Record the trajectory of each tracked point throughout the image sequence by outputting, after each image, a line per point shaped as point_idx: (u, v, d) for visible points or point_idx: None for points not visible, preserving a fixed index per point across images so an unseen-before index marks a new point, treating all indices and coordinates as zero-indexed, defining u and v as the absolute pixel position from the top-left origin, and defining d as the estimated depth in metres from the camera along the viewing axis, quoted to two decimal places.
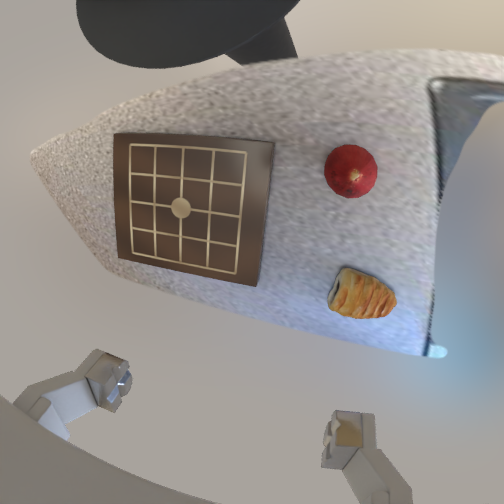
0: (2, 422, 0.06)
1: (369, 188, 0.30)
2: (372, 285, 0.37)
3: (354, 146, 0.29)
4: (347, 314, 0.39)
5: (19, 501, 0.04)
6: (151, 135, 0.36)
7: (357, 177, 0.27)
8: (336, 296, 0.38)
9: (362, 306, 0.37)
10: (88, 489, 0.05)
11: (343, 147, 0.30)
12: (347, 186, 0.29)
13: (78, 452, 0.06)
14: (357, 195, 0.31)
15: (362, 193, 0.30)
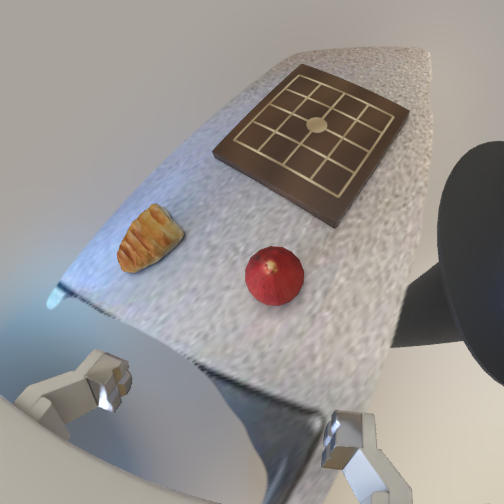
0: (2, 422, 0.06)
1: (249, 281, 0.29)
2: (152, 251, 0.35)
3: (297, 289, 0.29)
4: (139, 216, 0.37)
5: (19, 501, 0.04)
6: (393, 135, 0.36)
7: (268, 266, 0.27)
8: (162, 211, 0.36)
9: (138, 231, 0.36)
10: (88, 489, 0.05)
11: (301, 277, 0.29)
12: (263, 256, 0.28)
13: (78, 452, 0.06)
14: (248, 266, 0.30)
15: (248, 272, 0.29)
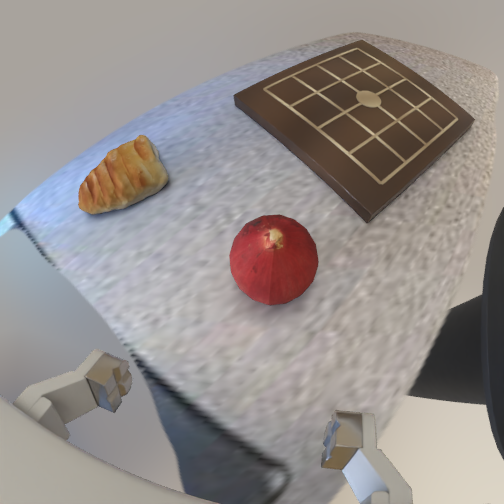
0: (2, 422, 0.06)
1: (234, 256, 0.19)
2: (120, 189, 0.25)
3: (303, 287, 0.19)
4: (120, 146, 0.27)
5: (19, 501, 0.04)
6: (454, 136, 0.26)
7: (270, 236, 0.17)
8: (149, 143, 0.26)
9: (112, 162, 0.25)
10: (88, 489, 0.05)
11: (314, 271, 0.19)
12: (265, 222, 0.18)
13: (78, 452, 0.06)
14: (239, 234, 0.20)
15: (237, 242, 0.19)
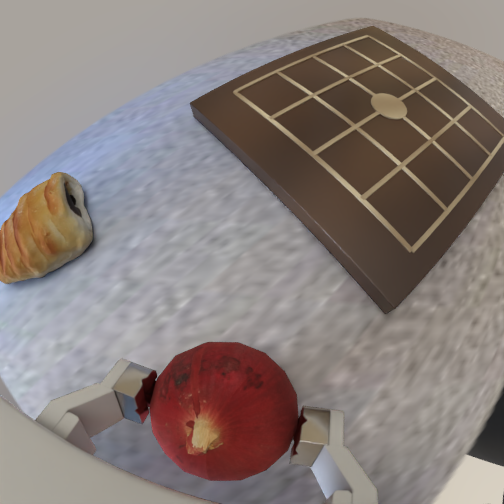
0: (2, 422, 0.06)
1: (152, 421, 0.09)
2: (27, 258, 0.15)
3: (269, 466, 0.09)
4: (33, 189, 0.17)
5: (19, 501, 0.04)
6: None
7: (193, 438, 0.07)
8: (60, 188, 0.16)
9: (18, 216, 0.16)
10: (88, 489, 0.05)
11: (288, 444, 0.10)
12: (194, 387, 0.09)
13: (78, 452, 0.06)
14: (159, 382, 0.10)
15: (154, 399, 0.10)
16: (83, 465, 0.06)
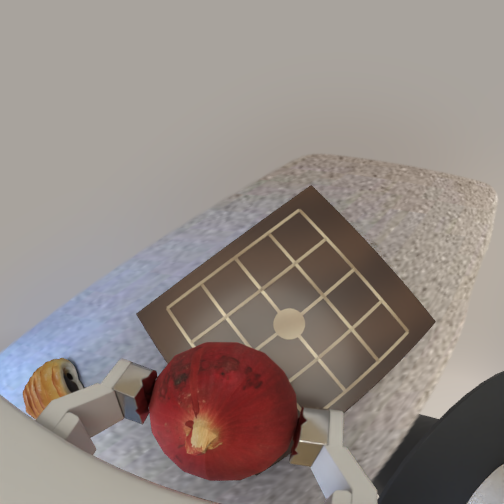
0: (2, 422, 0.06)
1: (151, 421, 0.09)
2: None
3: (268, 466, 0.09)
4: (43, 370, 0.25)
5: (19, 501, 0.04)
6: (392, 366, 0.24)
7: (192, 438, 0.07)
8: (62, 384, 0.24)
9: (39, 392, 0.23)
10: (88, 489, 0.05)
11: (288, 444, 0.10)
12: (193, 387, 0.09)
13: (78, 452, 0.06)
14: (159, 382, 0.10)
15: (153, 399, 0.10)
16: (83, 465, 0.06)
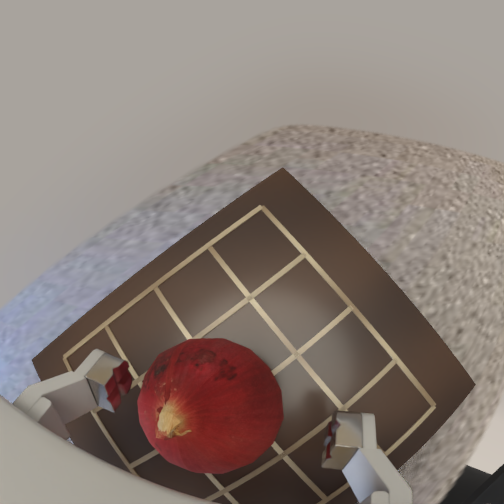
0: (2, 422, 0.06)
1: (138, 411, 0.10)
2: None
3: (250, 461, 0.10)
4: None
5: (19, 501, 0.04)
6: (404, 459, 0.13)
7: (158, 422, 0.08)
8: None
9: None
10: (88, 489, 0.05)
11: (269, 439, 0.10)
12: (168, 376, 0.09)
13: (78, 452, 0.06)
14: (146, 375, 0.11)
15: None
16: (83, 465, 0.06)
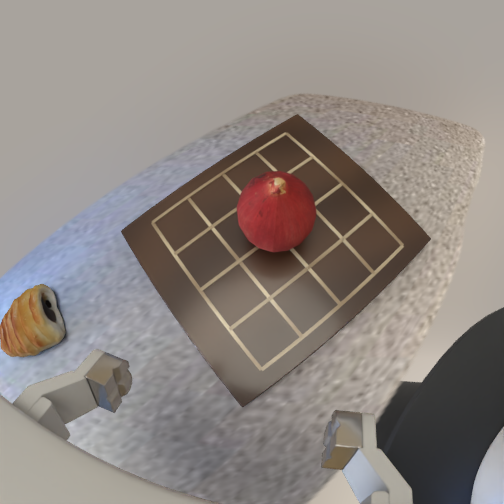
0: (2, 422, 0.06)
1: (242, 204, 0.21)
2: (25, 348, 0.22)
3: (303, 233, 0.21)
4: (21, 296, 0.24)
5: (19, 501, 0.04)
6: (389, 280, 0.24)
7: (274, 182, 0.19)
8: (39, 306, 0.23)
9: (14, 319, 0.23)
10: (88, 489, 0.05)
11: (312, 219, 0.21)
12: (269, 174, 0.20)
13: (78, 452, 0.06)
14: (246, 187, 0.22)
15: (244, 193, 0.21)
16: (83, 465, 0.06)
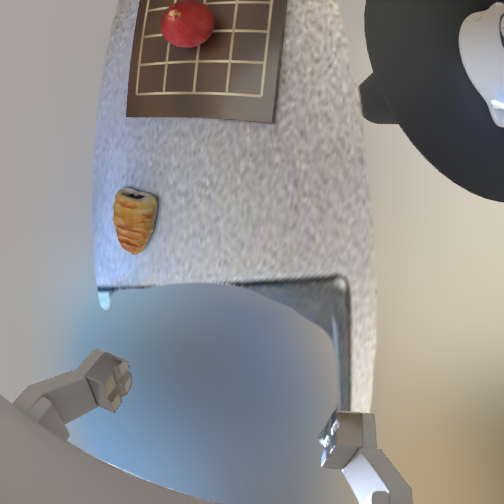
0: (2, 422, 0.06)
1: (168, 37, 0.25)
2: (144, 230, 0.39)
3: (209, 19, 0.24)
4: (114, 211, 0.39)
5: (19, 501, 0.04)
6: None
7: (170, 15, 0.22)
8: (128, 198, 0.37)
9: (124, 224, 0.39)
10: (88, 489, 0.05)
11: (207, 10, 0.24)
12: (165, 14, 0.23)
13: (78, 452, 0.06)
14: (161, 29, 0.25)
15: (163, 32, 0.25)
16: (83, 465, 0.06)
